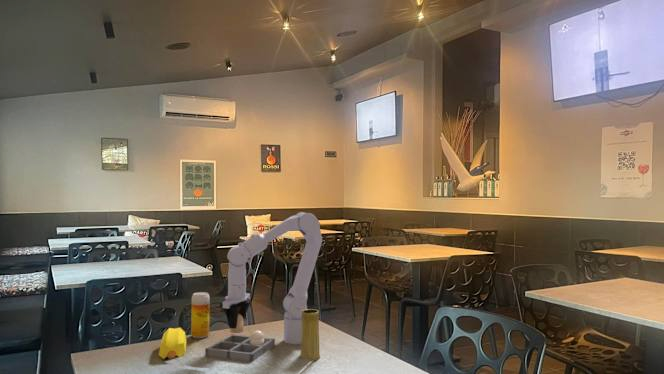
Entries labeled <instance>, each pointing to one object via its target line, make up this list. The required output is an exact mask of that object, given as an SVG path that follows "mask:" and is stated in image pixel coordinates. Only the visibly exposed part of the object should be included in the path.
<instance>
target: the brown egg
mask: <svg viewBox="0 0 664 374" xmlns="http://www.w3.org/2000/svg"><path fill="white" fill-rule="evenodd" d="M243 332H244V324H243V317H242V315H240V314H238V319H237V326H236V328H229V333H232V334H240V333H243Z"/></svg>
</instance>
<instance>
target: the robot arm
mask: <svg viewBox="0 0 664 374" xmlns="http://www.w3.org/2000/svg"><path fill="white" fill-rule="evenodd" d="M320 224H321V223H320V221H319V219H318V218H317V217H316V215H315V214H314V213H311V212H305V211H304V212H303V211H300V212H297V213H296V214H294V215H291V216H290V217H288V218H286V219H284V220H283V221H281V222H280V223H278V224H277V225H275V226H274V227H272V228H271V229H270V230H268V231H266V232H264V233H263V234H262V233H256V234H255V233H252V234H251V235H250V238H248V239H246V240H245V241H242V242H238V243H237V245H238V246H232V247H231V248H230V249H229V250H228V252H227V255H226V258H227V260H228V270H227V272H228V273H227V295H226V296H225V297H224V301H222V310H223V312H224V314H225V316H226V319H227V323H228V327H229V329H230V328H236V326H237V319H238V314H240V315H242V317H243V325H244V324H245V321H246V315H247V311H248V310H249V308H250V305H251V301H249V300H250V299H251V294H250V293H248V292H247V269H246V267H247V266H246V263H247V261H248V259H251V258H254V256H256V255H258V254H259V253H261V252H263V251H264V250H266V249H267V248H268V244H269V243H270V242H272V241H273V240H276V239H277V238H279V237H281V236H282V235H285V234H287V233H288V232H296V231H297V232H300V233H301V235H302V236H303V237H304V240H305V241H306V242H305V247H304V248H303V252H302V255H301V259H300V262H299V264H298V267H297V271H296V274H295V277H294V282H293V284H292V286H291V287H290V289H289V290H288V293H287V295H286V296H285V297H284V299H283V301H282V307H283V309H284V310H285V312H284V314H283V342H284V343H285V344H287V345H288V344H289V345H301V335H302V311H303V310H307V309H308V305H307V302H308V289H309V285H310V283H311V279H312V276H313V273H314V269H315V266H316V262H317V260H318V257H319V252H320V250H321V247H322V244H323V237H322V232H321V228H320Z"/></svg>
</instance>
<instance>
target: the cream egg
mask: <svg viewBox="0 0 664 374" xmlns="http://www.w3.org/2000/svg"><path fill="white" fill-rule="evenodd" d="M264 334H265V333H264V332H263V331H261V330H259V329H257V330H254V331H252V332H251V334H250V335H249V336H250V344H254V345H263V344H264V338H265V335H264Z"/></svg>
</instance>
